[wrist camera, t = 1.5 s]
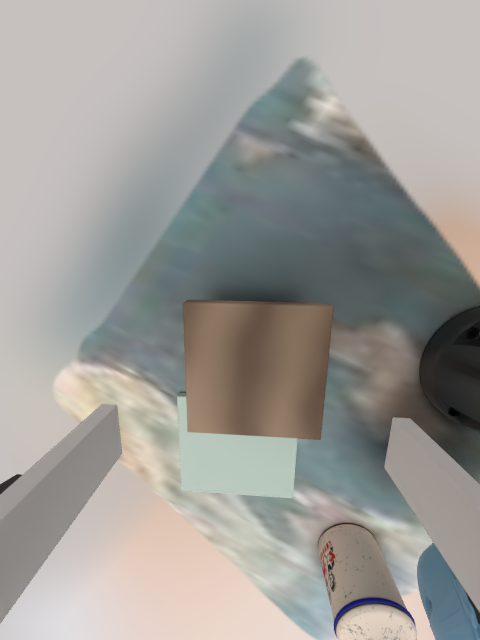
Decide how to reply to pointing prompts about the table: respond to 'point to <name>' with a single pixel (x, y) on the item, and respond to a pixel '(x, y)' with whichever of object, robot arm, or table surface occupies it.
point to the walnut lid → (256, 367)
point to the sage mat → (235, 461)
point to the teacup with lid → (362, 587)
